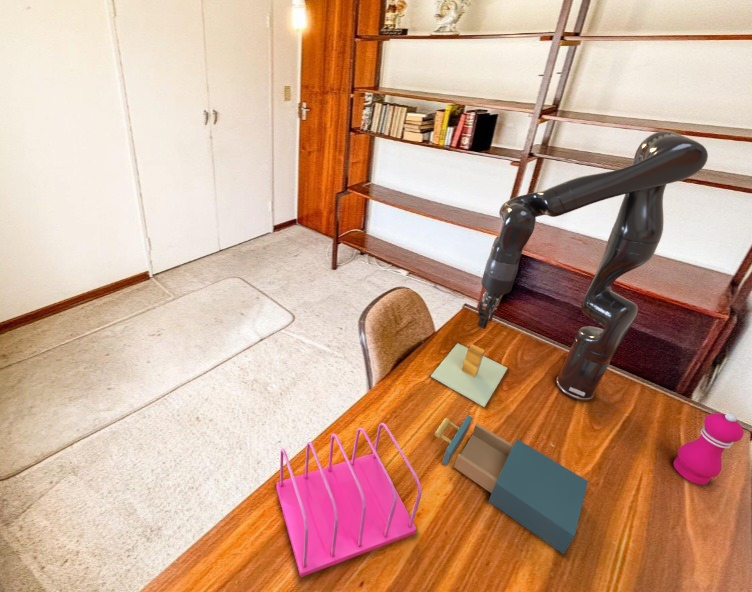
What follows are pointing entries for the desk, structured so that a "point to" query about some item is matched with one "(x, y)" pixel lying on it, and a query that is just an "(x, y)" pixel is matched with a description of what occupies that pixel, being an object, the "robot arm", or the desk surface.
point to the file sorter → (343, 507)
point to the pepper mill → (708, 448)
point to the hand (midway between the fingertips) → (484, 323)
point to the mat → (466, 384)
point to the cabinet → (540, 495)
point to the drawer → (476, 453)
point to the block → (473, 360)
